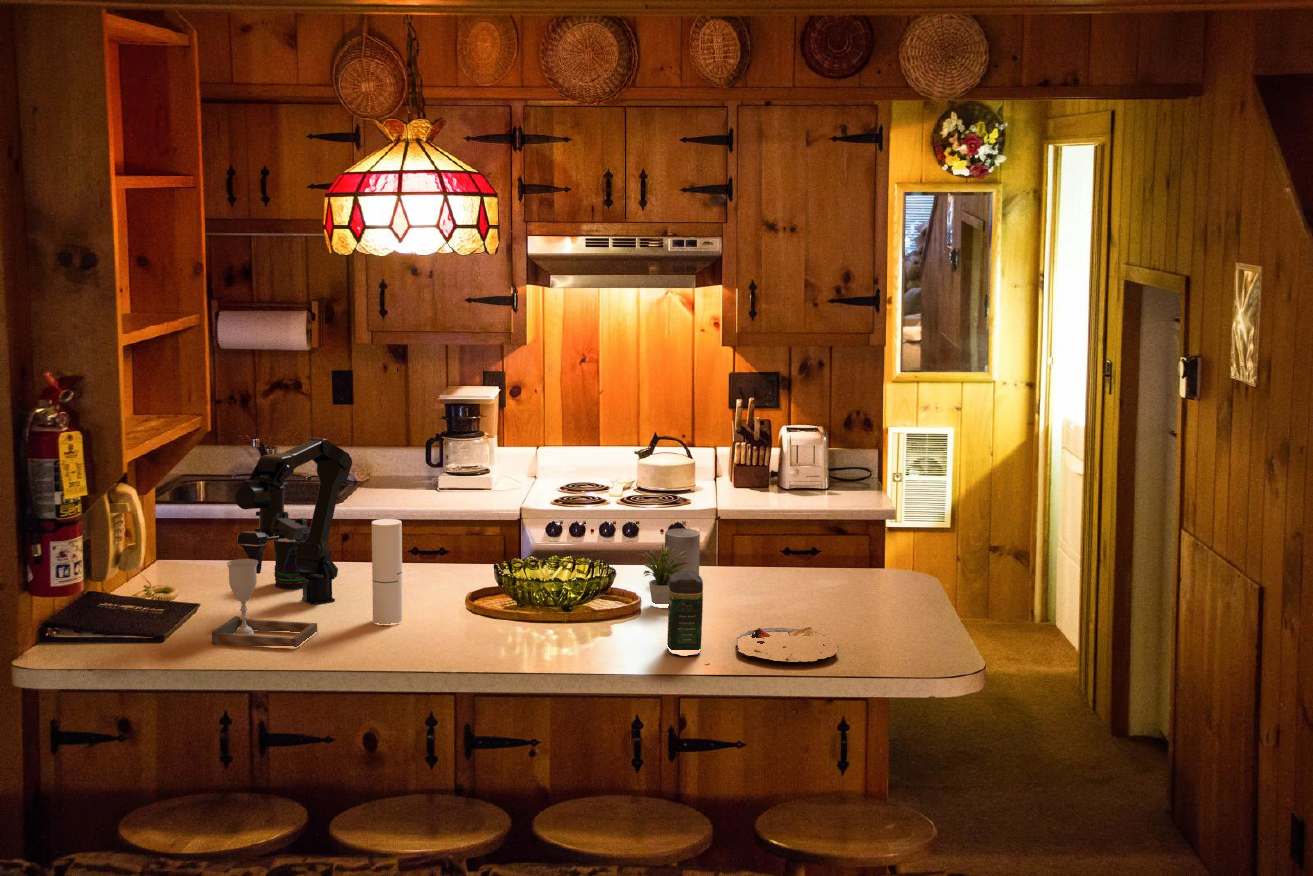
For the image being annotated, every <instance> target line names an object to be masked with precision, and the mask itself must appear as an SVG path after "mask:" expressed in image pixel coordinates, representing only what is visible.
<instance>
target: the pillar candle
mask: <svg viewBox="0 0 1313 876" xmlns="http://www.w3.org/2000/svg"><path fill="white" fill-rule="evenodd" d="M700 540H701V533H700V531H699V530H696V529H691V528H684V527H682V528H670V529H667V530H666V531H665V532H664V549H665V548H666V547H667V546H668V547H669V549H668V551H669V553H670V552H671V551H672V550H673V549H674V548H675V547H676V549H675V550H674V551H673V553H672V554H671V556H670V558H669V560H668V562H667V564H669V563H671V562H672V560H673V559H674V558H675V557H676V556H677V555H678V554H679V553H681V552H683V551H685V552H684V553H682V554H681V555H680V556H679V557H680V558H678V559H681V560H678V559H677V560H678V561H677V560H676V561H675V562H674V563H673V564H672V565H674V564H677V563H682V562H689V563H691V564H684V565H681V566H678V567H677V568H675V570H677V569H689V570H686V571H693V572H694V573H696V574H697V575H699V576H700V548H701V546H700V543H701V541H700ZM682 556H686V557H682ZM682 559H683V560H682ZM684 559H685V560H684ZM668 566H669V565H667V566H666V567H668ZM675 570H674V571H675ZM674 571H673V572H674ZM678 571H684V570H678ZM676 572H677V571H675V572H674V573H676ZM669 577H670V576H669Z"/></svg>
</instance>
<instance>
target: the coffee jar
mask: <svg viewBox="0 0 1313 876" xmlns="http://www.w3.org/2000/svg"><path fill="white" fill-rule="evenodd" d="M703 583H704V582H703V579H702V577H701V575H700V574H699V575H697V574H696V573H694V572H693V571H677V572H676V573H674V574H673V575H671V576H670V579H669V606H668V608H667V609H668V610H667V611H668V615H667V645H668V647H669V648H670V649H671V650H699V649H701V650H702V636H703V634H702V632H703V631H702V629H703V608H704V607H703V606H704V603H703V602H704V584H703ZM667 645H666V646H667Z"/></svg>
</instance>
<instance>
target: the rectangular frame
mask: <svg viewBox="0 0 1313 876" xmlns="http://www.w3.org/2000/svg"><path fill="white" fill-rule="evenodd" d="M240 617H241V616H238V615H236V616H234V617H232V618H231V619H229V620H227V621H226V622H224V623H223V624H221V625H219V626H218V627H217V628H215V629H213V630H212V631H211V644H212V645H214V646H215V645H216V646H217V645H218V646H231V647H232V646H234V647H247V646H294V647H297V646H299V645H300V644H301V643H302V642H303V641H305V640H306V639H307V638H309V637H310V636H312V635H313V634H314V633H315V632H317V633H318V623H317V622H303V621H286V620H285V621H284V620H270V619H269V620H267V619H254V618H253V619H252V618H247V619H246V624H247V625H248V626H249V627H251V628H252V630H258V631H257V632H265V631H290V632H300V633H296V635H294V636H293V637H292V636H291V637H289V636H274V635H261V634H260V635H258V634H254V635H245V634H235V632H236V630H237V628H238V627H241V625H242V620H241V618H240Z"/></svg>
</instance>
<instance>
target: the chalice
mask: <svg viewBox="0 0 1313 876" xmlns="http://www.w3.org/2000/svg"><path fill="white" fill-rule="evenodd" d="M225 564H226V566H227V567H228V584H229V587H230V589H231V592H232V594H233V595H234V597H235V599H236V601H239V602H240V603H241V604H240V609H239V611H240V612H241V614H240V616H239V617H240V619H241V620H242V625H241V627H238V628H237V630H236V632H235V633H234V634H245V635H255V633H254V632H255V631H253V630H252V628H251V627H249V626H248V625H247V624H246V619H248V615H247V610H248V608H247V606H246V604H247V602H248V601H249V600H250V599H251V598H252V595H253V594H254V591H255V589H256V585H257V583H258V581H257V579H258V577H257V576H258V575H257V573H256V566H257V564H258V561H257V560H254V559H249V558H238V559H232V560H229V561H227V562H226V563H225Z"/></svg>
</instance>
